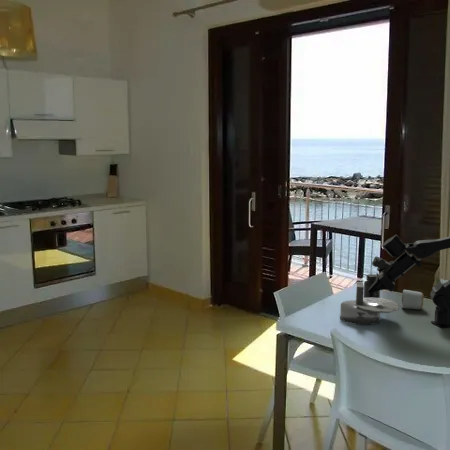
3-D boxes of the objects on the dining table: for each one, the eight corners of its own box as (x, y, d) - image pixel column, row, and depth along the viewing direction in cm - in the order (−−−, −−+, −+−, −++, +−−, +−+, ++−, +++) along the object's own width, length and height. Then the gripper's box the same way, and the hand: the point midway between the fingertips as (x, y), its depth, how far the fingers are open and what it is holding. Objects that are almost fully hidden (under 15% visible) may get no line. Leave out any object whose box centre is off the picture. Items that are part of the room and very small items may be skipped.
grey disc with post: (396, 301, 204) (397, 281, 203) (400, 314, 189) (401, 292, 187) (354, 299, 208) (355, 279, 206) (355, 310, 192) (356, 289, 191)
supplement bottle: (377, 300, 224) (379, 273, 223) (381, 305, 218) (382, 277, 216) (361, 299, 225) (363, 273, 223) (364, 304, 218) (365, 277, 217)
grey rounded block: (423, 311, 209) (424, 293, 208) (402, 310, 211) (403, 291, 210) (420, 305, 219) (421, 287, 218) (400, 303, 221) (401, 285, 220)
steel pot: (378, 310, 211) (378, 298, 210) (381, 330, 187) (382, 317, 186) (340, 307, 214) (341, 295, 213) (339, 327, 190) (340, 314, 189)
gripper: (384, 245, 203) (354, 271, 208) (387, 255, 185) (354, 282, 190) (403, 266, 203) (373, 291, 207) (409, 277, 185) (375, 304, 189)
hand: (368, 291), depth 198 cm, fingers closed
